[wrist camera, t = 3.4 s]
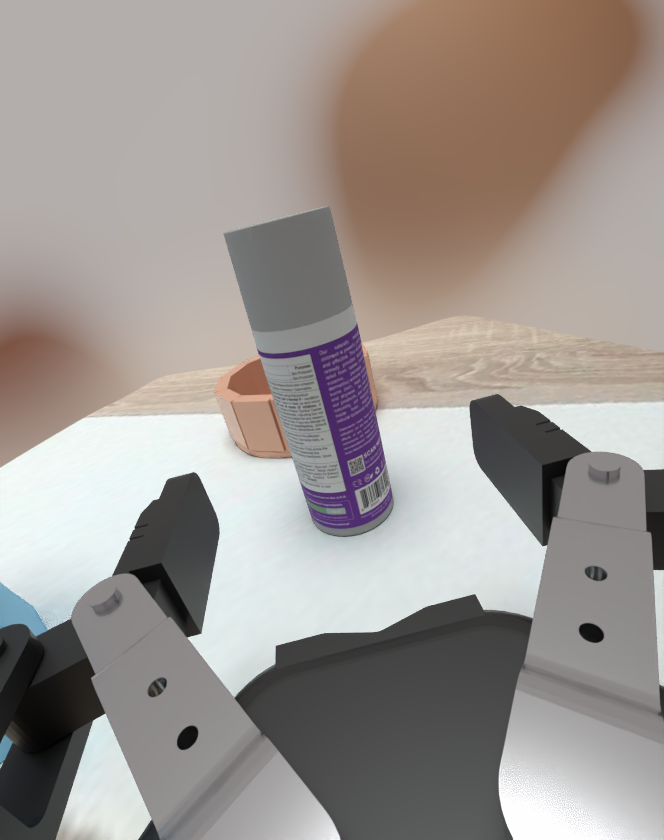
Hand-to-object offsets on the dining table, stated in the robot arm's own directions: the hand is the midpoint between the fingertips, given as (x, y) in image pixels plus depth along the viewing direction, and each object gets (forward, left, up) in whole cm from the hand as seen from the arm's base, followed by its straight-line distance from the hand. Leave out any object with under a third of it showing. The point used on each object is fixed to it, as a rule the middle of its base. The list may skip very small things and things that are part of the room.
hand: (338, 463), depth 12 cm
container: (0, -9, -9) cm, 12 cm away
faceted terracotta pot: (+2, -22, -9) cm, 23 cm away
